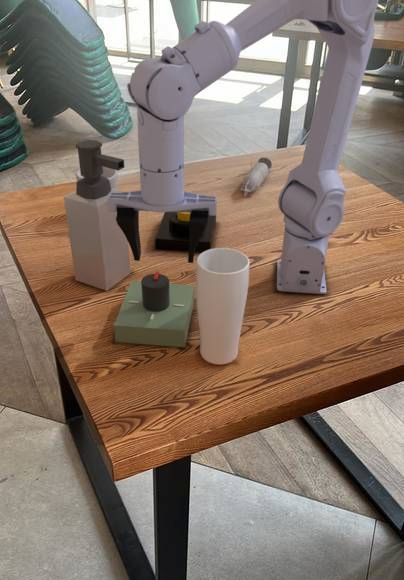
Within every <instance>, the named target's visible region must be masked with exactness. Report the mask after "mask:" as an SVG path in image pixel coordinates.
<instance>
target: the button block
mask: <svg viewBox="0 0 404 580" xmlns="http://www.w3.org/2000/svg"><path fill="white" fill-rule="evenodd" d="M216 226H217V215H216V216H211V215H208V223H207V226H206V228H205V230H204V231H203V233H202V235H201V237H200V239H199V241H198V244H197V247H196V250H195V253H202V252H204V251H206V250H210V249H212V246H213V242H214V241H213V240H214V236H215V231H216ZM154 246H155V249H154V250H159V251H171V252H172V251H175V252H188V253H189V222H188V221H180V220H178V219H177V212H163V215H162V218H161V222H160V224H159V227H158V230H157V232H156V234H155V238H154Z"/></svg>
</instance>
